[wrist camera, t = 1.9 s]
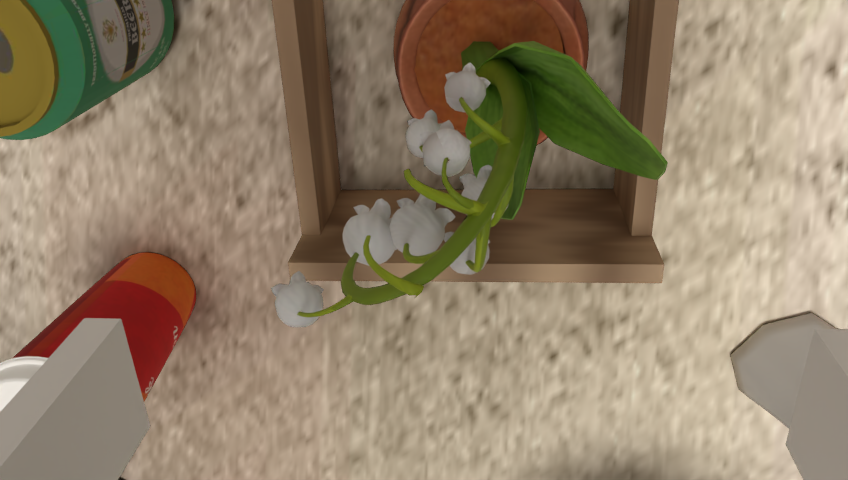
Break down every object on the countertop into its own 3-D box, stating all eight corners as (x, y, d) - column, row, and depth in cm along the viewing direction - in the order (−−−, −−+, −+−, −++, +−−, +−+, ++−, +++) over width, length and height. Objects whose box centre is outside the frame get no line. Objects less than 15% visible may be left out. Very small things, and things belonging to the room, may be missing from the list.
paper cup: (129, 346, 50) (11, 503, 38) (77, 250, 47) (-70, 388, 35) (232, 325, 49) (144, 482, 36) (186, 225, 46) (72, 360, 33)
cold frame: (326, 205, 44) (290, 280, 36) (290, -127, 36) (233, -125, 28) (629, 204, 43) (661, 282, 35) (663, -144, 34) (716, -146, 26)
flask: (869, 370, 47) (959, 490, 38) (763, 421, 49) (824, 544, 40) (817, 292, 44) (899, 400, 35) (709, 350, 47) (760, 463, 38)
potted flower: (422, 176, 43) (350, 510, 21) (332, 21, 39) (127, 226, 17) (614, 83, 39) (775, 363, 17) (536, -96, 36) (612, -32, 14)
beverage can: (195, 73, 41) (93, 146, 30) (61, 80, 42) (-84, 154, 31) (162, -81, 37) (32, -60, 27) (17, -70, 38) (-165, -45, 28)
